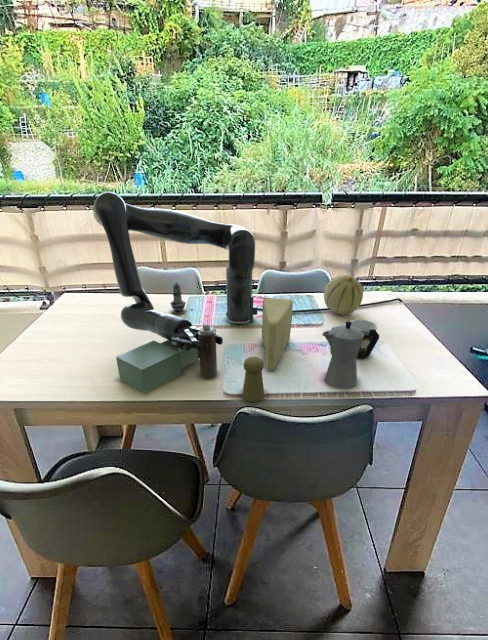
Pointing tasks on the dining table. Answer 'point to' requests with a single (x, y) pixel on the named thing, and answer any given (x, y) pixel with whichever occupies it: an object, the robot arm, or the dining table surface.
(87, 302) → the dining table surface
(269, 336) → the cheese
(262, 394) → the olive rounded tall piece
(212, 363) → the pepper mill
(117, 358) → the cabinet
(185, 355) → the drawer
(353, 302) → the cantaloupe
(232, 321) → the robot arm
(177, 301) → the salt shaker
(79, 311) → the dining table surface
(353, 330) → the coffeepot
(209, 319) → the dining table surface
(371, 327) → the coffee mug
